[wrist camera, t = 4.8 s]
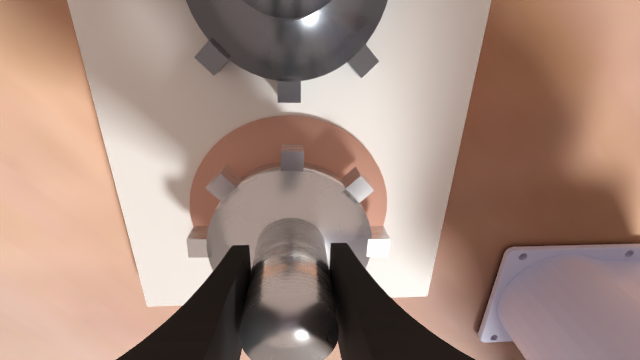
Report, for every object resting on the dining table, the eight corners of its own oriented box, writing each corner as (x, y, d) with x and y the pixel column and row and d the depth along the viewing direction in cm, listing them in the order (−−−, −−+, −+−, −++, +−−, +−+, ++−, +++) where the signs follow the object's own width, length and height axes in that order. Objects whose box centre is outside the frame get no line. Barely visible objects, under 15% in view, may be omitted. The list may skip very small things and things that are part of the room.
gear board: (506, -170, 12) (538, -198, 11) (418, 278, 21) (428, 298, 19) (39, -208, 11) (-2, -245, 9) (157, 287, 20) (145, 309, 18)
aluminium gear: (393, 146, 14) (457, 204, 9) (373, 307, 18) (410, 425, 12) (185, 141, 14) (111, 201, 8) (202, 310, 17) (158, 438, 11)
